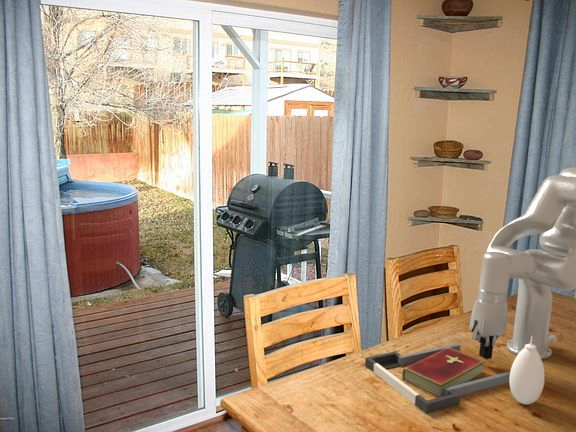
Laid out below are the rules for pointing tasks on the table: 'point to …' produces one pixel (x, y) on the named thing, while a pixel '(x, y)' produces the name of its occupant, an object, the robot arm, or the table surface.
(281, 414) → the table surface
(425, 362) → the hardcover book
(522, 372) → the rubber air blower
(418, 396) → the grey u-shaped frame
